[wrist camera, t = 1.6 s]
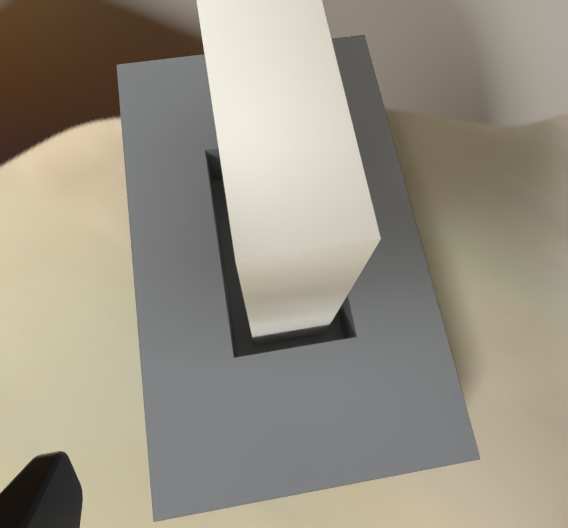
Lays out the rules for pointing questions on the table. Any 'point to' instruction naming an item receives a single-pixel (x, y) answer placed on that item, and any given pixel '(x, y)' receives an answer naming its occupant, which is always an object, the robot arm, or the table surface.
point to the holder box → (285, 353)
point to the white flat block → (286, 163)
